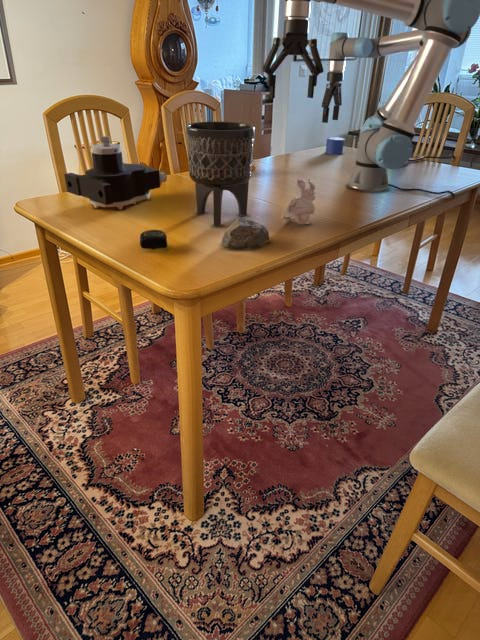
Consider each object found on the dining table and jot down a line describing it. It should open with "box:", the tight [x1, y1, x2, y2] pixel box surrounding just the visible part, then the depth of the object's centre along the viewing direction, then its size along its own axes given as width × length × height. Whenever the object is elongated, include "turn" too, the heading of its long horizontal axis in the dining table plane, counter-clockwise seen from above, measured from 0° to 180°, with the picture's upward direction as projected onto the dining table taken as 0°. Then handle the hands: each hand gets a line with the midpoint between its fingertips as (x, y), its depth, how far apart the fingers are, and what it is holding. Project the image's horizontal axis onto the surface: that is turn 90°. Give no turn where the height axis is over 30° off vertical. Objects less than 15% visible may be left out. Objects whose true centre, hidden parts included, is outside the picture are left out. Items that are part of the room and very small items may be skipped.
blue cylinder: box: [325, 136, 345, 156], centre depth 240 cm, size 9×9×7 cm
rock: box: [221, 216, 270, 250], centre depth 119 cm, size 13×9×6 cm, turn 131°
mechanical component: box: [63, 135, 168, 210], centre depth 149 cm, size 22×21×30 cm
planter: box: [185, 121, 256, 227], centre depth 134 cm, size 20×20×26 cm
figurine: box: [281, 177, 316, 225], centre depth 135 cm, size 8×15×13 cm, turn 145°
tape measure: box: [139, 229, 168, 250], centre depth 117 cm, size 7×7×4 cm
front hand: (291, 98), depth 146 cm, fingers open, 13 cm apart
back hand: (330, 121), depth 221 cm, fingers open, 13 cm apart
